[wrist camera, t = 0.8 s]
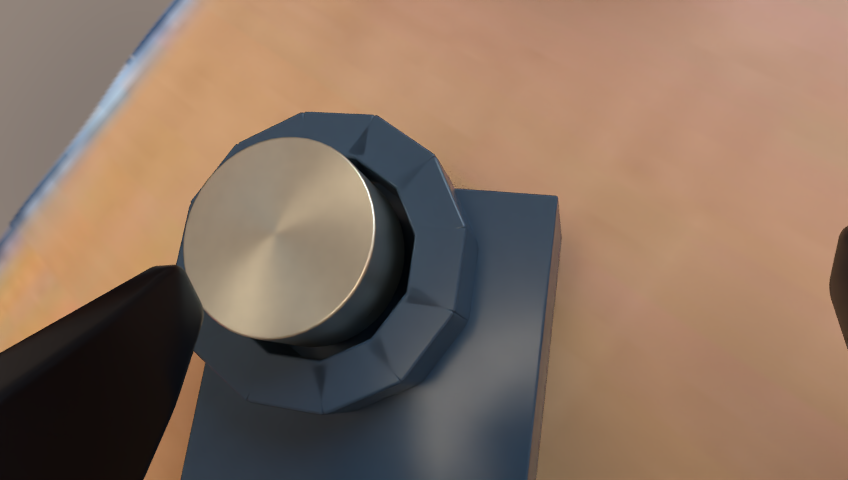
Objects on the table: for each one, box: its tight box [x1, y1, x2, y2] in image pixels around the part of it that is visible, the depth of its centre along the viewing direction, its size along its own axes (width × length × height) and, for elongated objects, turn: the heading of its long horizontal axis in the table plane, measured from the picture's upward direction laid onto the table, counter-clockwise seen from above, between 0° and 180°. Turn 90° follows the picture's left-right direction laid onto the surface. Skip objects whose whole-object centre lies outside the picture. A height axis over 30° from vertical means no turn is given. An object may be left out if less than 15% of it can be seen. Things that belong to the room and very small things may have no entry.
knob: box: [183, 137, 405, 347], centre depth 14 cm, size 4×4×2 cm
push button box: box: [176, 112, 562, 480], centre depth 17 cm, size 11×9×6 cm
